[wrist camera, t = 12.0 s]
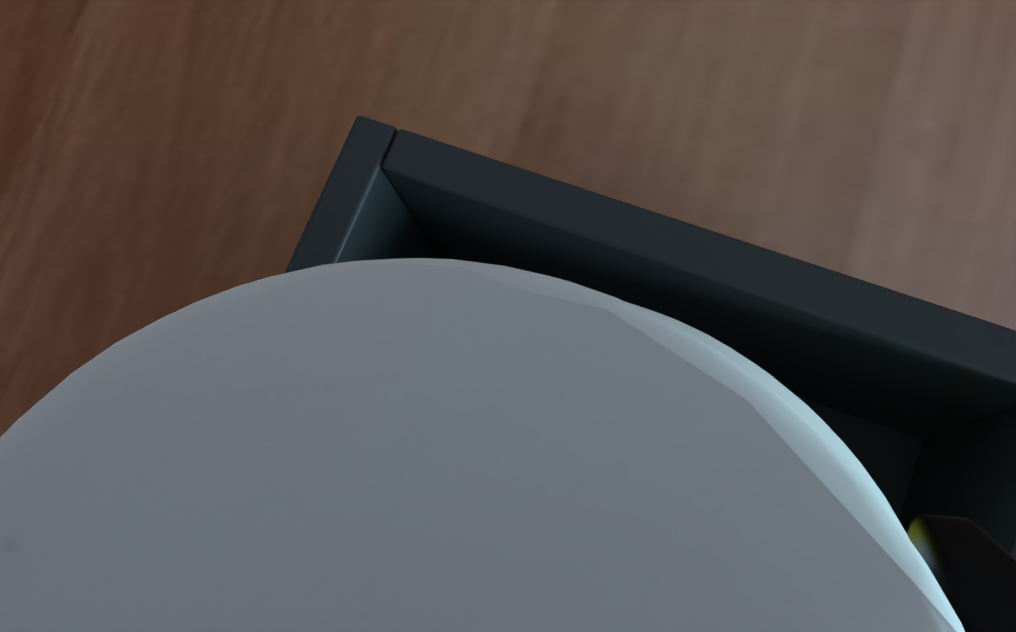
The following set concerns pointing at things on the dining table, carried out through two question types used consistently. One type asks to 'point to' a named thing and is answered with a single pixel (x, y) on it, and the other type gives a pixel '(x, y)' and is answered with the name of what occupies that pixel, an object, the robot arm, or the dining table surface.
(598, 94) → the dining table surface
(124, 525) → the pill bottle
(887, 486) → the bin
